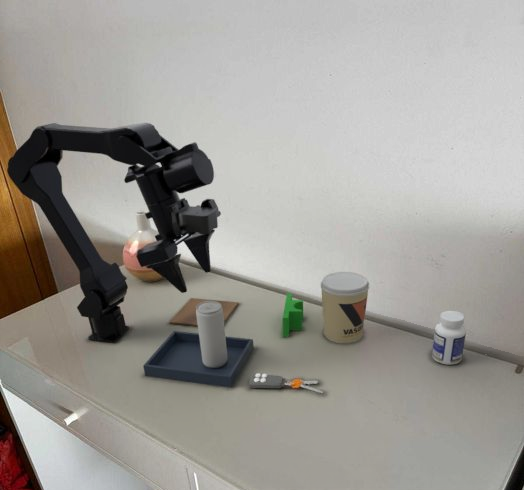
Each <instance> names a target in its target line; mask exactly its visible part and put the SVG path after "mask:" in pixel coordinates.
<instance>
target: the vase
mask: <svg viewBox="0 0 524 490" xmlns="http://www.w3.org/2000/svg"><path fill="white" fill-rule="evenodd" d="M147 212H148V211H147V210H139V211H138V212H136V213H135V219H136V224H137V225H136V226H137V230H136V231H135V232H134V233H132V234H131V235H130V237H129V238H128V239H126V242H125V244H124V246H123V249H122V262H123V265H124V268H125V269H126V271H127V272H128V273H129V274H130V275H131V276H133V277H134V278H136V279H138V280H140V281H142V282H144V283H145V282H147V283H153V282H158V281H161V280H163V279H165V278H164V277H162V276H161V275H160V274H158V273H157V272H156V271H154V270H153V269H151V268H150V269H147V267H146V266H143V267H141V266H140V264H139V262H138V259H137V257H136V255H137V251H138V250H139V249H141V248H142V247H144V246H145V245H147V244H149V243H152V242H156V241H157V240H156V238H155V236H156V235H157V234H159V232H158V230H157V229H154V228H152V225H151V221H150V219H147V218H146V215H145V213H147Z"/></svg>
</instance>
